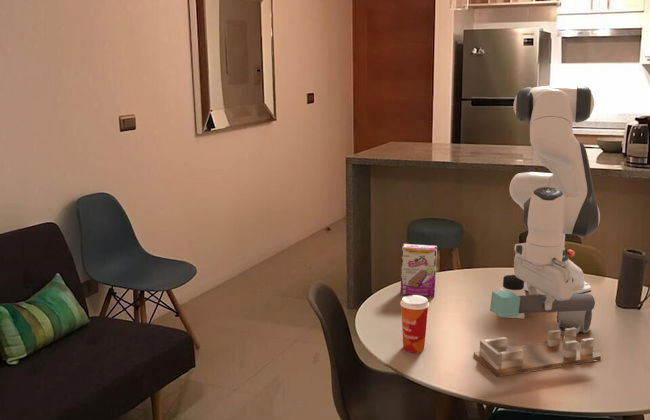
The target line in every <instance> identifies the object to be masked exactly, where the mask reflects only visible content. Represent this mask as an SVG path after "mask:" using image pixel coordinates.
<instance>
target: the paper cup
mask: <svg viewBox="0 0 650 420" xmlns="http://www.w3.org/2000/svg"><path fill="white" fill-rule="evenodd" d="M401 298H402V299H401V301H400V302H399V304H400V307H401V327H402V329H401V330H402V331H401V332H402V346H403V347H402V348H403V350H404V351H406V352H408V353H413V354H415V353H416V354H417V353H421V352H423V351H424V350H425V344H426V333H427V324H428V311H429V307H430V302H429V300H428V297H424V296H419V295H412V296H411V295H406V296H403V297H401Z"/></svg>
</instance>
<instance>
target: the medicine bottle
mask: <svg viewBox="0 0 650 420" xmlns="http://www.w3.org/2000/svg"><path fill="white" fill-rule="evenodd" d="M502 279H503V280H502V281H503V282H502V287H500V288H499V291H511V292H512V293H514V294H516V295H517V296H527V295H526V290H524V281H523V280H521V279H519V278H517V277H516V276H515V273H513V274H512V273H511V274H507V275H504V276H503V278H502ZM504 318H508V319H522V320H523V319H526V313H518V317H504Z"/></svg>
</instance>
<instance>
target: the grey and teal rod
mask: <svg viewBox="0 0 650 420" xmlns="http://www.w3.org/2000/svg"><path fill="white" fill-rule="evenodd" d="M546 299H547V298H546V297H545V295H540V294H537V295H529V294H528V295H526V296H517V295H516V294H514V293H512V292H511V291H500V290H498V291H497V290H496V291H491V298H490V306H489V307H490V308H489V311H490V312H492V313H493V314H494V315H496V316H498V317H499V318H505V317H518V313H525V314H536V313H537V314H538V313H557V312H566V311H590V310H592V311H593V310H594V309H595V306H596V300H595V297H594V296H593V294H591V293H578V294H572V297H571V298H570V299H569V300H564V301H558V300H556V299H555V300H554V302H553V303H552V309H551V310H545V309H544V308H543V307H542V306H543V302H545V301H546Z"/></svg>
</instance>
